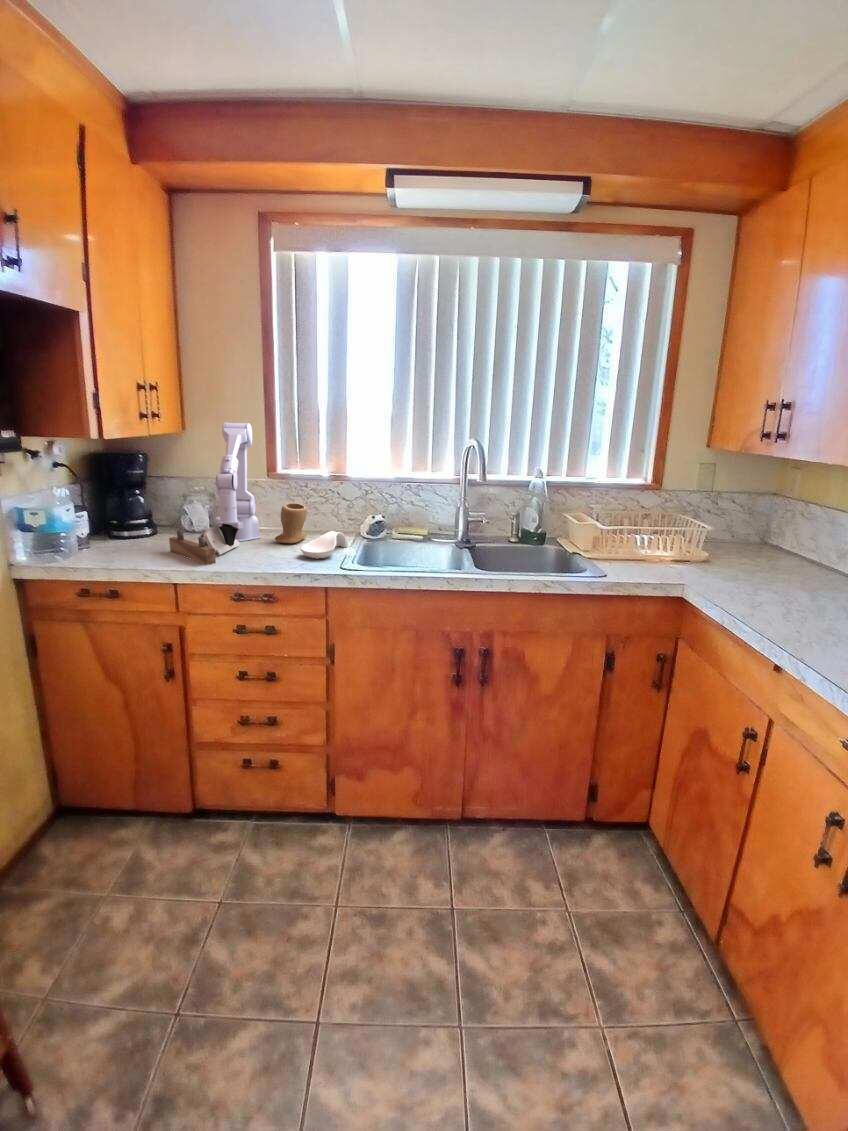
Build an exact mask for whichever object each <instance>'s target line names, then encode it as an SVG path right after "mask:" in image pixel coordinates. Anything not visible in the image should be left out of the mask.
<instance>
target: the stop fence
mask: <svg viewBox="0 0 848 1131" xmlns="http://www.w3.org/2000/svg"><path fill="white" fill-rule="evenodd" d="M168 539H169V540H168V542H169V551H170V553H172V552H173V554H175V553H176V555H178V554H179V555H178V556H181V555H182V556H181V557H183V556H185V558H186V557H188V558H187V559H189V558H191V559H190V560H192V559H194V560H193V561H195V560H196V561H195V562H198V561H199V562H198V563H200V562H202V563H201V564H203V563H204V565H206V564H209V565H214V564H217V562H216V552H215V548H212V547H209V546H205V537H199V536H198V538H197V540H198V539H199V540H198V542H196V541H192V540H190V539H186V538H184V531H183V530H176V536H173V537H169V538H168ZM213 563H214V564H213Z"/></svg>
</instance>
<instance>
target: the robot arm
mask: <svg viewBox="0 0 848 1131" xmlns="http://www.w3.org/2000/svg"><path fill="white" fill-rule="evenodd" d="M221 433H222V437H223V439H224V442H226V447H225V448H226V449H225V455H224V456H222V458H221V462H220V468H219V472H218V474H216V475H215V488H216V493H217V496H218V504H219V505H218V506H219V516H217V517H214V521H215V522H214V523H215V524H222V525H218V526H219V529H220V530H221V532H222V534H223V536H224V539H225V542H226V544H227V545H229V546H232V545H234V541H235V540H238V541H239V542H244V541H251V540H252V541H253V540H256V539H261V536H260V524H259V519H258V517H257V516H256V515H255V513H256V506H257V505H256V499H255V495H253V494H252V493H251V492H250V491H248V458H247V457H248V449H249V448H250V447H252V445H253V426H252V425H251V423H249V422H247V423H246V422H245V423H243V422H237V423H236V422H223V424H222V426H221Z"/></svg>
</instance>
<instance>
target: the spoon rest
mask: <svg viewBox="0 0 848 1131" xmlns="http://www.w3.org/2000/svg"><path fill="white" fill-rule="evenodd" d="M348 545H349V544H348V541H347V538H346V536H345V534H344V533H343V532H340V531H337V532H336V531H335V530H334V531H333V530H331V531H327V532H325V533H324V534H322V535H321V536H318V537H317V538H314V539H313V540H311V541H308V542H306V543H305V544H303V545H301V546H300V551H301V553H302V554H303V555H304V556H306V557H307V558H310V559H314V558H315V559H316V560H320V559H319V558H322V559H326V558H328V557H329V556H330V555H331V554H332V553H333V552H334V551H335V548H336V547H338V546H341V547H340V548H345V547H346V548H348V547H349V546H348ZM315 559H314V560H315Z"/></svg>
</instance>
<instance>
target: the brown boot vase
mask: <svg viewBox="0 0 848 1131" xmlns="http://www.w3.org/2000/svg"><path fill="white" fill-rule="evenodd" d="M307 511H308V508H307V507H306V505H304V504H302V503H298V502H286V503H284V504H283V505H282V507H281V510H280V522H281V527H282V532H281V533H280V534H278V535H277V536H276V537H274V541H275V542H277V543H283V544H295V543H298V542H301V541H302V540H304V538H306V537H307V536H308V534H307V532H304V531H303V527H304V525H305V522H306V518H307V515H308V514H307V513H308V512H307Z"/></svg>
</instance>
